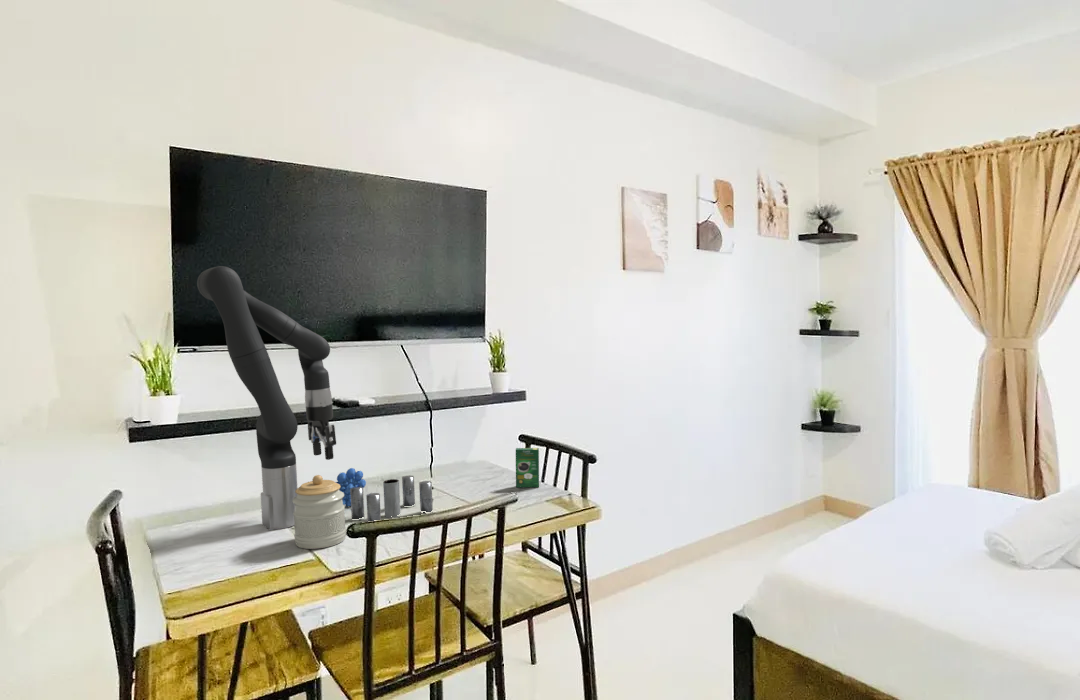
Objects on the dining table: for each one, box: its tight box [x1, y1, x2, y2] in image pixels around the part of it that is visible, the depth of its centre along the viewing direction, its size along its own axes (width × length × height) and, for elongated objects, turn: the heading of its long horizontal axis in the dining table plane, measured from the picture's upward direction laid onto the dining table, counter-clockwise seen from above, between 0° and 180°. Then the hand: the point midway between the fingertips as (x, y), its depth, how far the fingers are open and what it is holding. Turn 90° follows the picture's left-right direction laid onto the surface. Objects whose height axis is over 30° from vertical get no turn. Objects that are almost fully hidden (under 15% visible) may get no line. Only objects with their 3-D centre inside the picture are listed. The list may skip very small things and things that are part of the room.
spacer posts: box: [350, 474, 434, 522], centre depth 190 cm, size 21×14×9 cm, turn 132°
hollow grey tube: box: [382, 478, 401, 519], centre depth 190 cm, size 4×4×10 cm
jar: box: [292, 474, 347, 550], centre depth 170 cm, size 13×13×18 cm
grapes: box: [334, 467, 367, 507], centre depth 201 cm, size 12×7×12 cm, turn 131°
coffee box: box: [515, 447, 540, 489], centre depth 216 cm, size 8×3×13 cm, turn 87°
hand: (323, 457), depth 193 cm, fingers open, 8 cm apart
